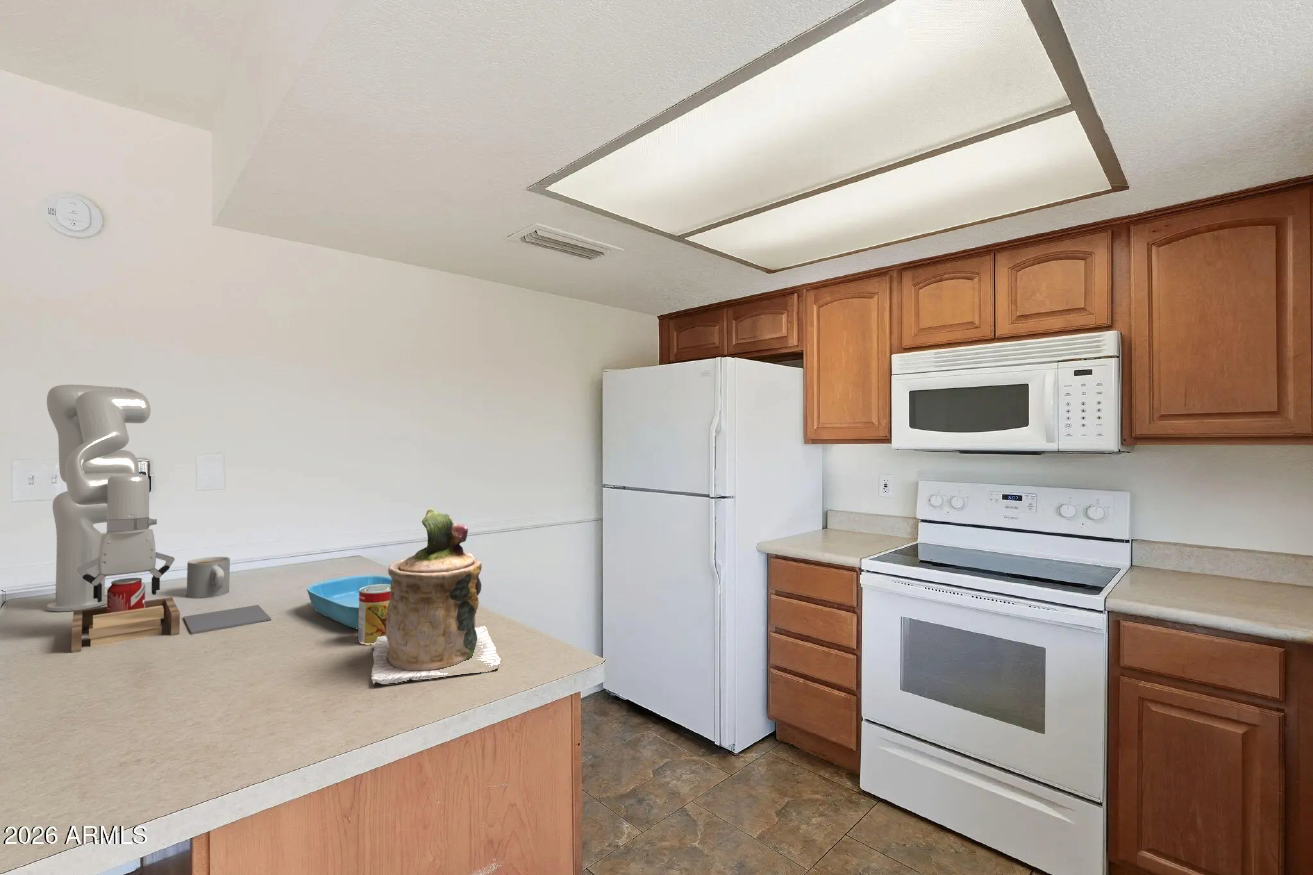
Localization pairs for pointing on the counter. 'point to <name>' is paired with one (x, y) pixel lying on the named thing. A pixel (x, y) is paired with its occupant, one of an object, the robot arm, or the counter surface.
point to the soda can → (126, 595)
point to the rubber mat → (225, 619)
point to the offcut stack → (126, 625)
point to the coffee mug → (208, 577)
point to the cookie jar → (432, 609)
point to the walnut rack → (86, 615)
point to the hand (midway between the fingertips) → (127, 597)
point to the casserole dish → (342, 596)
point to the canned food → (373, 612)
